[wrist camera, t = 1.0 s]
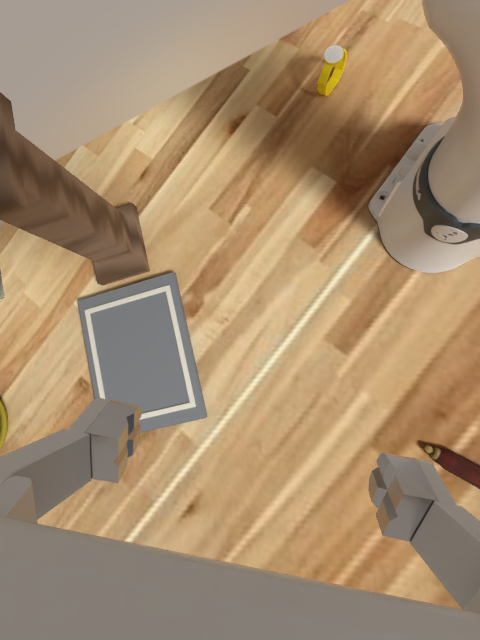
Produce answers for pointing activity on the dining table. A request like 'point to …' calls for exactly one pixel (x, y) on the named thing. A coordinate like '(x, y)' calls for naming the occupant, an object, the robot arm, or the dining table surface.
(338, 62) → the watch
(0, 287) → the grey green bar
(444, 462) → the gavel
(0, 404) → the flowerpot
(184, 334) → the mat
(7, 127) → the stand
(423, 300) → the dining table surface
